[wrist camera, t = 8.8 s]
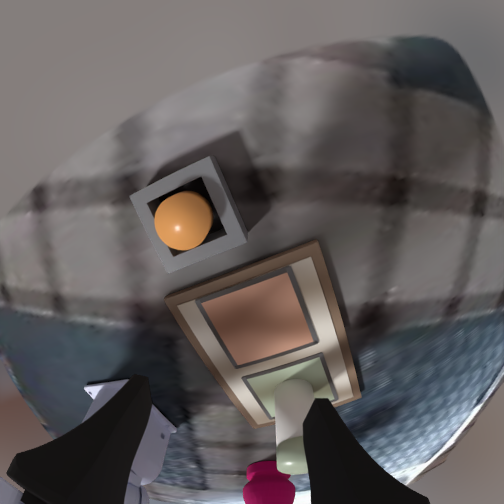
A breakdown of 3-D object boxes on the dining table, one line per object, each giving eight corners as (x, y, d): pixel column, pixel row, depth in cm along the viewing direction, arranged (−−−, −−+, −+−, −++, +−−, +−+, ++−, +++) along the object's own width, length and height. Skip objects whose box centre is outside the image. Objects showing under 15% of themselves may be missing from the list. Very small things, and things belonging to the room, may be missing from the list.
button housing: (247, 232, 19) (247, 242, 17) (176, 261, 19) (167, 273, 17) (214, 156, 17) (209, 156, 15) (142, 191, 18) (129, 196, 16)
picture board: (359, 393, 24) (361, 398, 24) (253, 424, 26) (253, 430, 25) (316, 239, 19) (318, 242, 18) (165, 295, 20) (162, 300, 20)
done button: (221, 229, 17) (218, 237, 15) (177, 248, 17) (169, 257, 16) (200, 182, 16) (194, 185, 14) (155, 203, 16) (145, 209, 15)
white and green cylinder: (316, 397, 23) (329, 468, 15) (278, 406, 24) (283, 477, 16) (308, 373, 22) (323, 450, 14) (268, 383, 22) (271, 461, 15)
